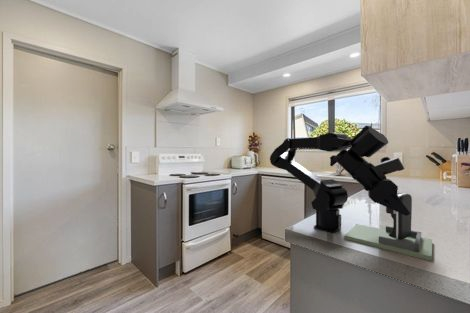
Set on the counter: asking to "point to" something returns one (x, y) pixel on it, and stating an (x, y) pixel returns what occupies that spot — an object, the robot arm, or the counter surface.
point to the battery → (401, 218)
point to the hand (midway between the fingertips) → (404, 210)
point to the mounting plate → (392, 241)
